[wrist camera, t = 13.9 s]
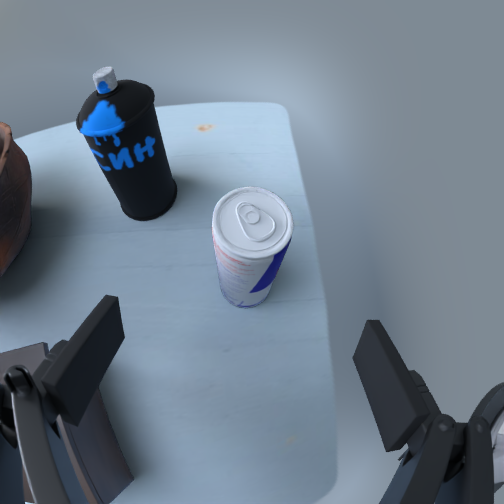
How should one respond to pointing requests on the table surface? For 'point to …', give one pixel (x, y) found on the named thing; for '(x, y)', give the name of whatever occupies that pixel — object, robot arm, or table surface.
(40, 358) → the chest lid
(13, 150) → the bowl
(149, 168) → the aerosol can
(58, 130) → the table surface
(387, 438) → the robot arm
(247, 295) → the beverage can
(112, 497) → the chest
